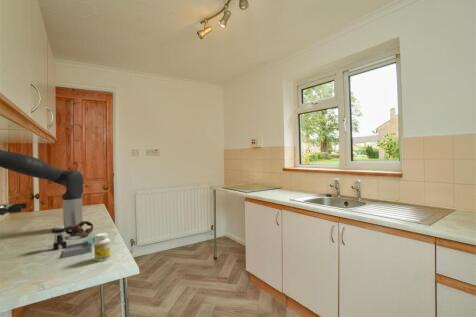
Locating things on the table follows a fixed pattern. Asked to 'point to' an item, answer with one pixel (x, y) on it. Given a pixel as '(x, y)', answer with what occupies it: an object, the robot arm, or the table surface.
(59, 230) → the push button
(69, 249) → the tray
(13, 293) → the table surface
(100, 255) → the supplement bottle
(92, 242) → the clip
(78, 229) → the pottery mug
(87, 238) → the clip
